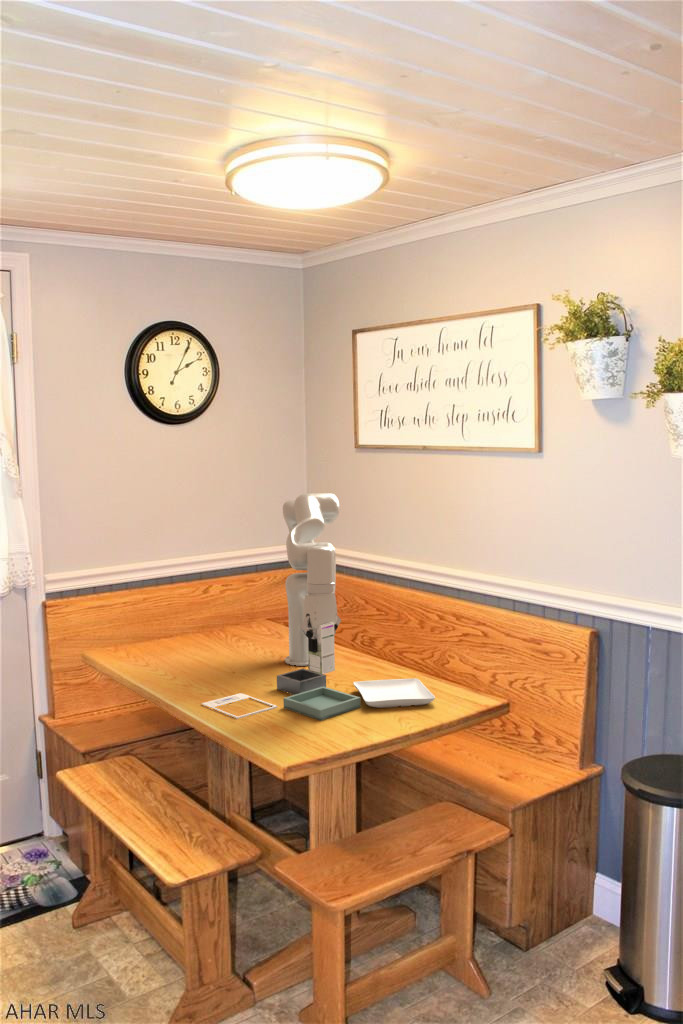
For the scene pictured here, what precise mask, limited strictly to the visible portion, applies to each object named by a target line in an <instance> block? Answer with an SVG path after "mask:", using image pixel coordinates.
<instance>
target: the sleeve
mask: <svg viewBox="0 0 683 1024" xmlns="http://www.w3.org/2000/svg"><path fill="white" fill-rule="evenodd" d="M320 687H327V675H326V674H319V673H315V672H312V671H309V669H306V668H300V669H296V670H293V671H288V672H285V673H281V674H277V675H276V690H277V689H278V691H280V690H281V692H283V691H284V693H287V692H288V694H290V693H291V694H290V695H293V694H294V695H296V694H299V693H303V692H306V691H309V690H313V689H316V688H320Z"/></svg>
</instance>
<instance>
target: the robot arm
mask: <svg viewBox="0 0 683 1024" xmlns="http://www.w3.org/2000/svg"><path fill="white" fill-rule="evenodd" d="M340 510H341V509H340V502H339V499H338V497H337V496H336V495H335V493H331V492H321V493H319V492H314V493H312V492H311V493H309V492H308V493H302V494H300V495H299V496H298V497H296V499H291V500H289V499H288V500H286V501H285V502H284V503H283V505H282V515H283V518H284V521H285V523H286V526H287V529H288V532H289V533H288V534H287V538H286V544H285V546H286V553H287V560H288V563H289V565H290V566H291V568H292V569H293V570H295V571H307V572H295V573H292V574H290V575H288V576H287V578H285V579H286V580H285V582H284V583H285V586H284V587H285V592H286V597H287V598H286V599H287V608H288V611H287V613H288V652H289V653H288V656H286V657H285V658H284V663H285V664H287V665H289V664H290V665H291V666H294V665H296V667H305V666H306V667H307V666H308V667H309V660H308V649H309V651H310V652H314V653H316V652H317V639H315V638H316V634H317V629H318V628H319V626H320V625H322V624H325V623H331V622H333V623H334V636H335V635H336V631H337V629H338V628H339V625H340V624H341V622H342V619H341V618H340V617H339V615H338V608H337V606H338V604H337V597H336V583H337V582H336V581H337V579H336V577H337V576H336V574H337V573H336V569H337V566H336V563H337V561H336V560H337V559H336V556H337V553H336V548H335V546H334V545H333V544H332V543H330V542H326V541H321V542H320V541H319V542H315V539H316V538H317V539H318V538H319V537H320V536H321V535H322V534H323V532H325V527H326V525H330V524H332V523H334V522H335V521H336V520H337V518H338V517H339V514H340ZM308 625H309V627H308ZM311 625H312V627H311ZM312 630H313V633H312ZM290 665H289V666H290Z"/></svg>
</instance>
